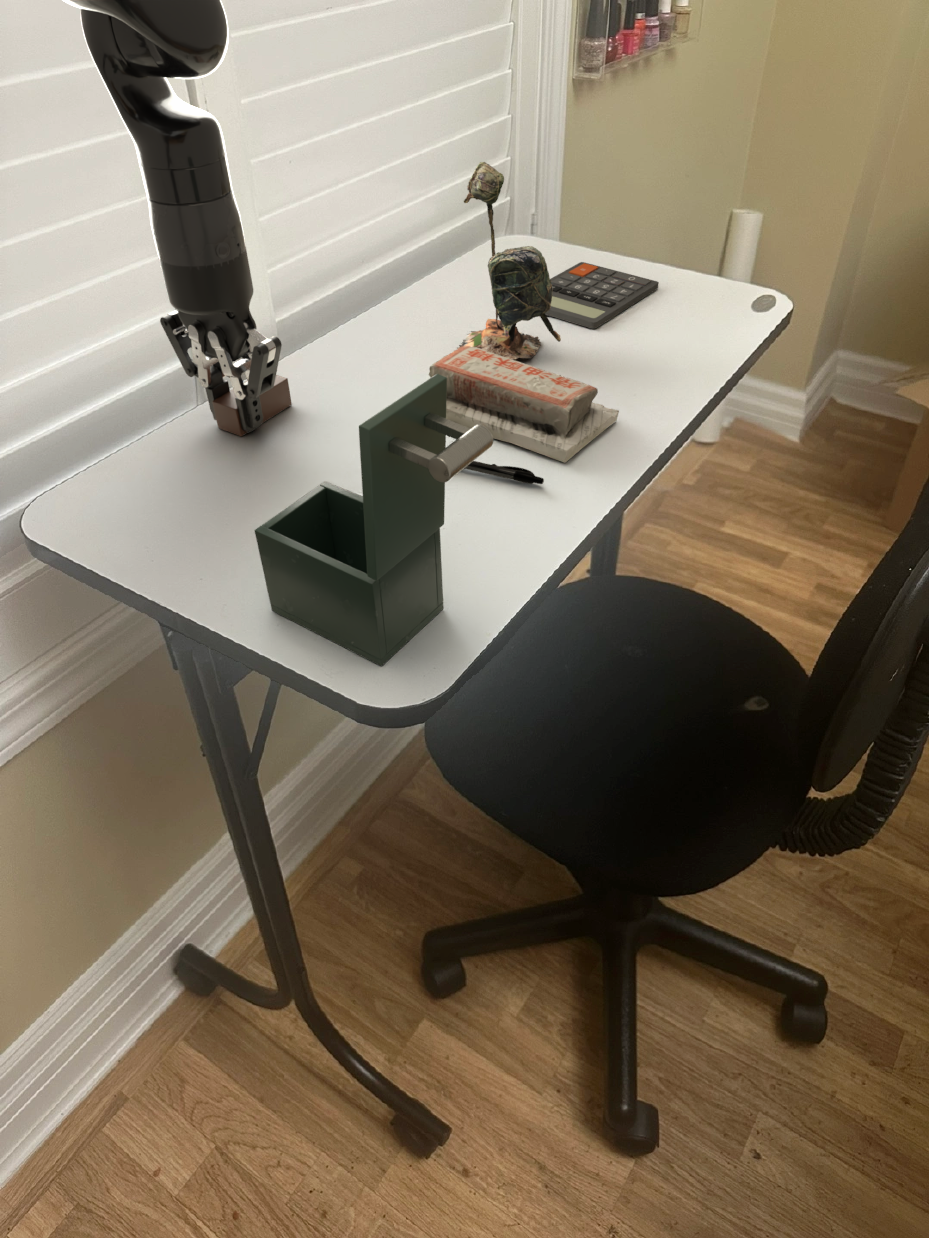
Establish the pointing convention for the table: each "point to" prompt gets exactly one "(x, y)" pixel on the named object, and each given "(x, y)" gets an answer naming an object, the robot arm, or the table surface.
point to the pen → (506, 472)
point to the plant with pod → (510, 283)
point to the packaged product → (521, 402)
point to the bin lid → (411, 471)
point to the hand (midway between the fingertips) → (238, 422)
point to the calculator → (595, 294)
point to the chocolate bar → (269, 400)
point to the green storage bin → (346, 576)
